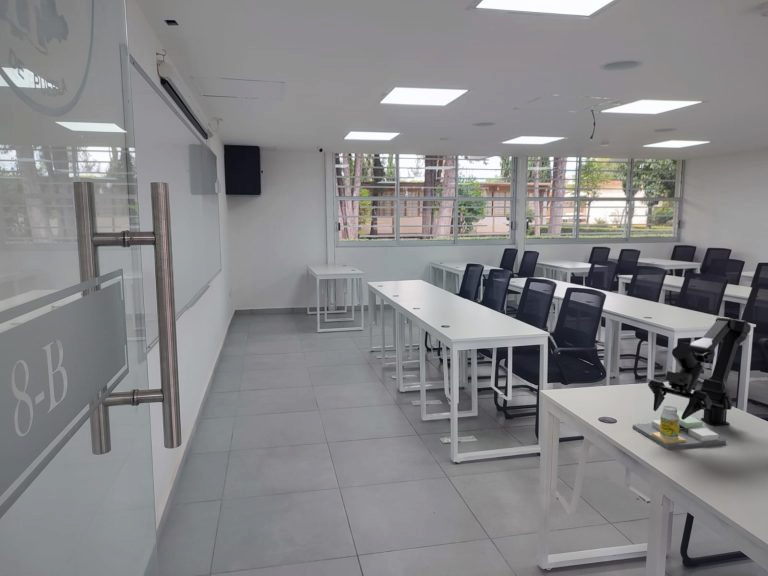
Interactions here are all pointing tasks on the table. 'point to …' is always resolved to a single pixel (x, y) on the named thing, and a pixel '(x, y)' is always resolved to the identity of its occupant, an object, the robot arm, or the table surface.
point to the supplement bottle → (669, 423)
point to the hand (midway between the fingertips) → (668, 414)
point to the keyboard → (680, 436)
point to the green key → (688, 421)
